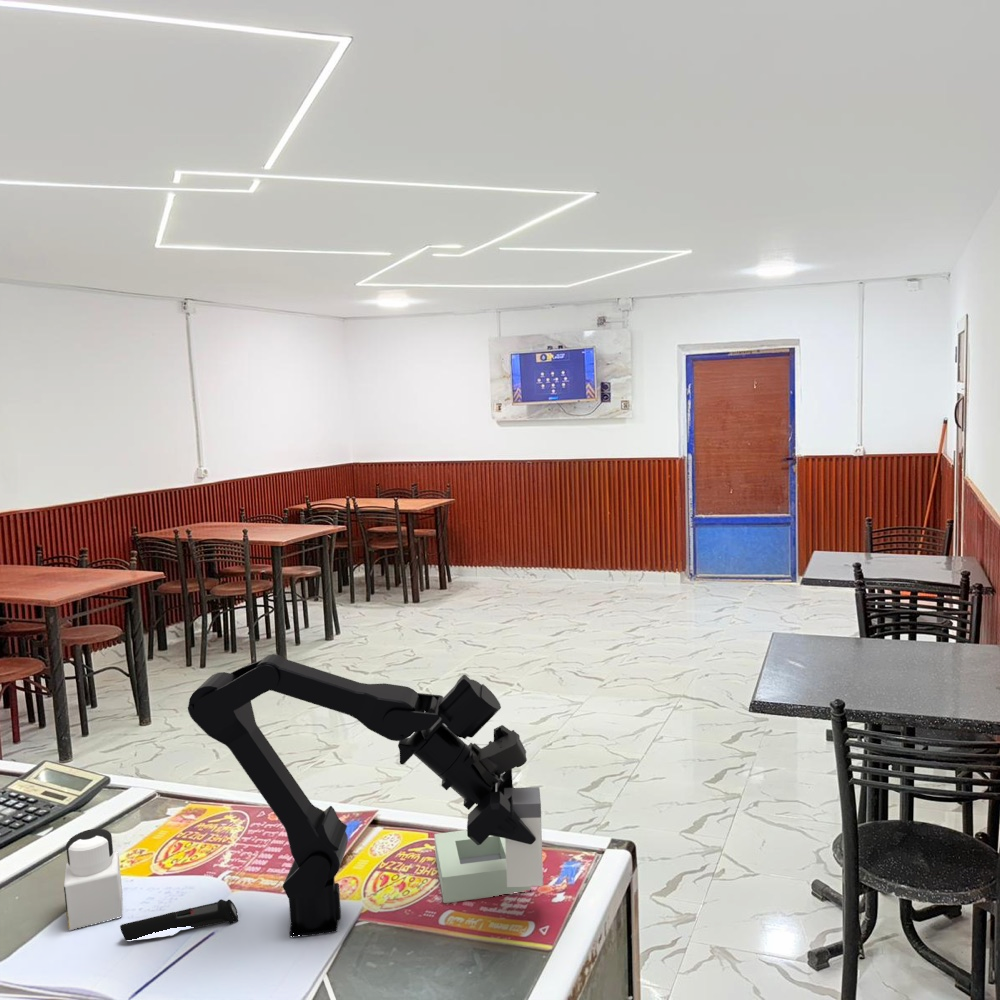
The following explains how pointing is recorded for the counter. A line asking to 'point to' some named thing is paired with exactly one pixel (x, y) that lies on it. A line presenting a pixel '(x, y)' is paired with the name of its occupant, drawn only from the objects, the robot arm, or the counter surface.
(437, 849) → the sage block
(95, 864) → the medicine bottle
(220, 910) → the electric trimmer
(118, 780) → the counter surface
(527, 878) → the white plug block
